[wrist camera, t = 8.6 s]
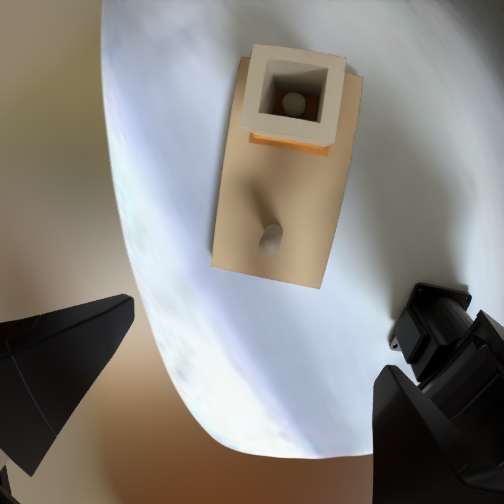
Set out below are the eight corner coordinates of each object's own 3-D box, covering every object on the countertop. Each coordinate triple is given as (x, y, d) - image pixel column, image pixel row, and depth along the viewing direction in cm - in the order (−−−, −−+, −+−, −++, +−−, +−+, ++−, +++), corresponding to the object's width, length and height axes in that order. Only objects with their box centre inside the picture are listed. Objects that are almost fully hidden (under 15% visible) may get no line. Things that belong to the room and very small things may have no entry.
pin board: (359, 80, 15) (374, 63, 11) (319, 283, 20) (322, 311, 16) (243, 61, 15) (230, 40, 12) (214, 261, 21) (197, 284, 17)
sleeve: (333, 87, 14) (350, 56, 9) (324, 150, 16) (337, 147, 10) (266, 76, 15) (250, 41, 9) (256, 138, 16) (234, 129, 11)
